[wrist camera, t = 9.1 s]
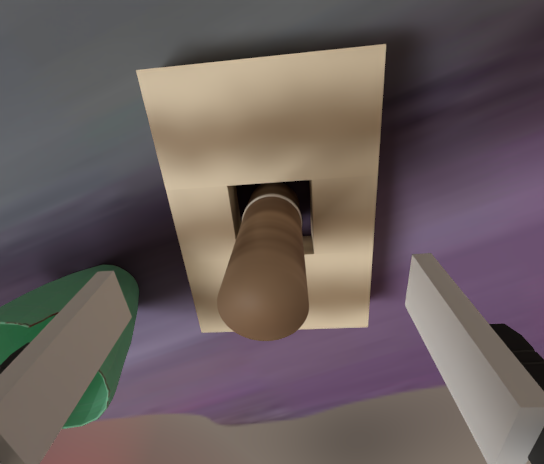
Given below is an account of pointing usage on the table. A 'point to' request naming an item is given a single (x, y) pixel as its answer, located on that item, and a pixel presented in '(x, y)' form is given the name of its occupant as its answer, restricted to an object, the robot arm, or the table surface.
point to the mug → (44, 307)
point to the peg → (266, 268)
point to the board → (274, 165)
